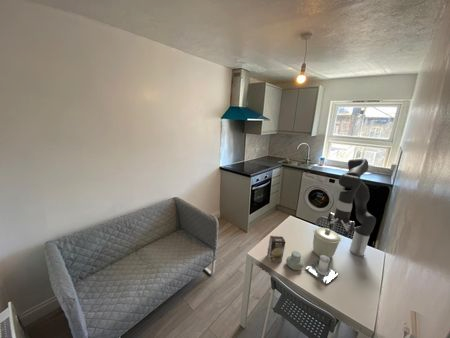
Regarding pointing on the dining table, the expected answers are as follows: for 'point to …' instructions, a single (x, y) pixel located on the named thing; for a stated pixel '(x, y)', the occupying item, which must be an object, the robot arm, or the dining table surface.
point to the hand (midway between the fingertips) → (338, 232)
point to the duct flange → (323, 277)
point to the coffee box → (276, 248)
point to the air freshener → (295, 261)
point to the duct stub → (323, 263)
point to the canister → (325, 242)
